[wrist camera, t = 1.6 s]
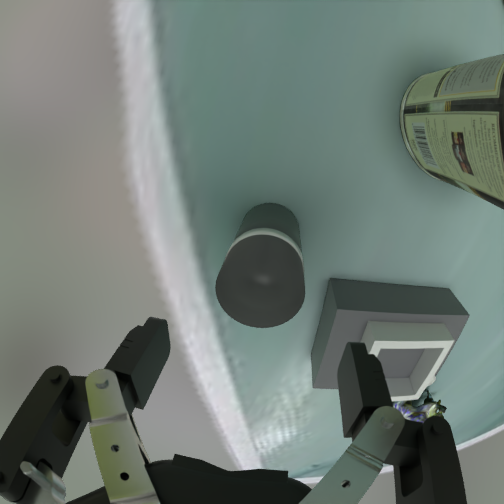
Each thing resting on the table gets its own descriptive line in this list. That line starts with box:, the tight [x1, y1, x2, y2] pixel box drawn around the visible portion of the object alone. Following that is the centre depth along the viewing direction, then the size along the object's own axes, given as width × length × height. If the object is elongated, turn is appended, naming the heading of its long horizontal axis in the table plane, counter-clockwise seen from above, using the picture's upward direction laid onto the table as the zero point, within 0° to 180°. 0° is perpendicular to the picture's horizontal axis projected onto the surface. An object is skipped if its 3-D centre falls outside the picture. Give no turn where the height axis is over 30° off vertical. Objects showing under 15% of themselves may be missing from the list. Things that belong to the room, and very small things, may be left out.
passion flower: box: [392, 391, 447, 422], centre depth 29 cm, size 11×11×12 cm
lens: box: [216, 203, 305, 328], centre depth 20 cm, size 5×5×10 cm
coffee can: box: [400, 54, 504, 209], centre depth 12 cm, size 10×10×14 cm
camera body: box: [311, 278, 470, 401], centre depth 24 cm, size 10×14×8 cm
